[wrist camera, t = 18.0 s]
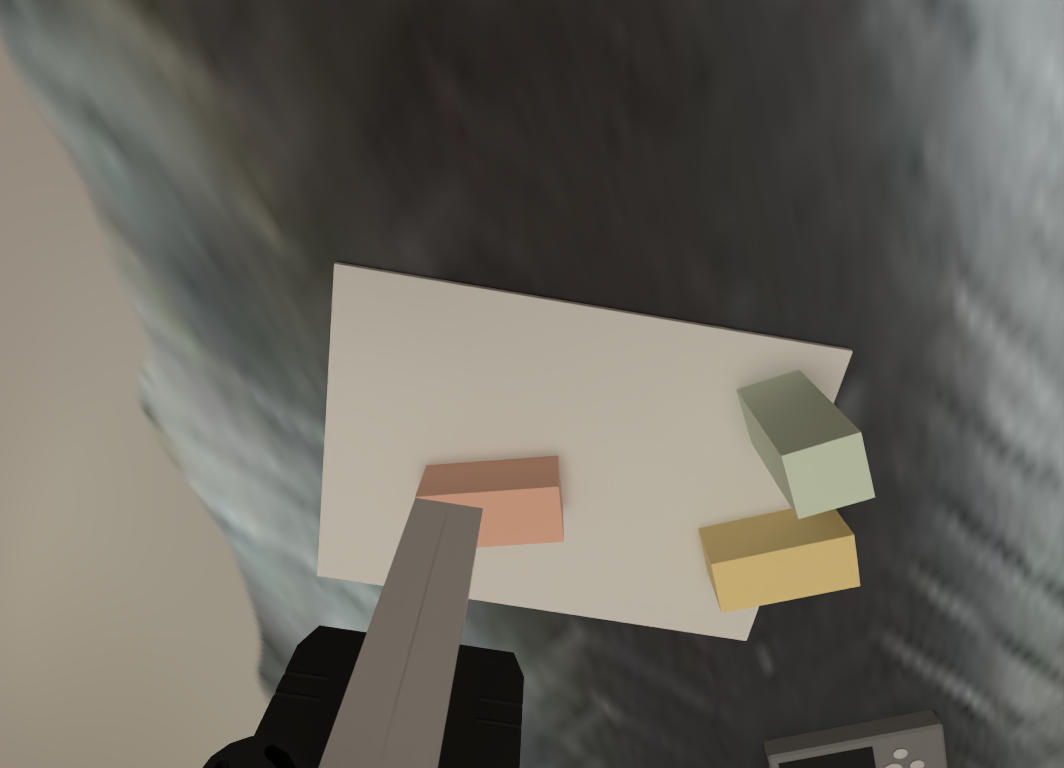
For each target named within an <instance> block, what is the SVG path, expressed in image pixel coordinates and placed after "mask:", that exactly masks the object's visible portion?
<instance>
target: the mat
mask: <svg viewBox="0 0 1064 768" xmlns="http://www.w3.org/2000/svg"><path fill="white" fill-rule="evenodd" d="M852 352H853V351H852V350H850V349H849V348H843V347H837V346H831V345H826V344H820V343H814V342H808V341H802V340H796V339H790V338H784V337H778V336H772V335H766V334H760V333H755V332H749V331H743V330H737V329H731V328H725V327H719V326H713V325H707V324H701V323H695V322H689V321H684V320H678V319H672V318H666V317H660V316H654V315H648V314H642V313H636V312H630V311H624V310H618V309H613V308H607V307H601V306H595V305H589V304H583V303H577V302H571V301H565V300H559V299H553V298H547V297H541V296H536V295H530V294H524V293H518V292H512V291H506V290H500V289H494V288H488V287H482V286H476V285H470V284H465V283H459V282H453V281H447V280H441V279H435V278H429V277H423V276H417V275H411V274H405V273H399V272H394V271H388V270H382V269H376V268H370V267H364V266H358V265H352V264H346V263H340V262H336V263H335V264H334V277H333V295H332V314H331V332H330V351H329V369H328V387H327V406H326V424H325V443H324V461H323V480H322V498H321V516H320V535H319V553H318V572H317V576H322V577H329V578H335V579H342V580H349V581H355V582H362V583H368V584H375V585H381V586H384V584H385V581H386V578H387V575H388V572H389V570H390V567H391V564H392V561H393V559H394V556H395V553H396V550H397V547H398V545H399V542H400V539H401V536H402V533H403V531H404V528H405V525H406V522H407V520H408V517H409V514H410V511H411V508H412V506H413V503H414V500H415V495H416V492H417V490H418V487H419V484H420V481H421V479H422V476H423V473H424V470H425V467H426V465H438V464H452V463H465V462H479V461H492V460H506V459H519V458H533V457H546V456H558V459H559V470H560V481H561V491H562V502H563V524H564V542H552V543H537V544H522V545H507V546H492V547H477V548H476V555H475V561H474V567H473V573H472V579H471V586H470V592H469V598H468V599H474V600H480V601H487V602H493V603H500V604H506V605H513V606H520V607H526V608H533V609H539V610H546V611H553V612H559V613H566V614H572V615H579V616H585V617H592V618H599V619H605V620H612V621H618V622H625V623H632V624H638V625H645V626H651V627H658V628H664V629H671V630H678V631H684V632H691V633H697V634H704V635H710V636H717V637H724V638H730V639H737V640H743V641H747V638H748V635H749V633H750V630H751V627H752V624H753V622H754V619H755V616H756V613H757V611H758V608H759V606H756V607H751V608H746V609H741V610H736V611H731V612H726V613H721V610H720V607H719V604H718V601H717V599H716V596H715V593H714V590H713V587H712V584H711V581H710V578H709V575H708V571H707V567H706V562H705V557H704V553H703V548H702V544H701V539H700V535H699V530H698V528H702V527H707V526H711V525H716V524H721V523H725V522H730V521H735V520H739V519H744V518H749V517H754V516H758V515H763V514H768V513H772V512H777V511H782V510H786V509H791V507H790V505H789V503H788V502H787V500H786V498H785V497H784V495H783V494H782V492H781V490H780V489H779V487H778V485H777V484H776V482H775V481H774V479H773V477H772V476H771V474H770V472H769V471H768V469H767V468H766V466H765V464H764V463H763V461H762V459H761V458H760V456H759V454H758V453H757V451H756V450H755V448H754V446H753V445H752V443H751V440H750V436H749V433H748V429H747V426H746V422H745V419H744V415H743V412H742V408H741V405H740V401H739V398H738V394H737V389H740V388H743V387H746V386H749V385H753V384H756V383H759V382H762V381H765V380H768V379H771V378H774V377H778V376H781V375H784V374H787V373H790V372H793V371H796V370H800V371H801V372H802V373H803V374H804V375H805V376H806V377H807V378H808V379H809V380H810V381H811V382H812V383H813V384H814V385H815V386H816V387H817V388H818V389H819V390H820V391H821V392H822V393H823V394H824V395H825V396H826V397H827V398H828V399H829V400H830V401H831V402H832V403H833V404H834V401H835V398H836V395H837V393H838V390H839V387H840V385H841V382H842V379H843V376H844V374H845V371H846V368H847V365H848V363H849V360H850V357H851V355H852Z"/></svg>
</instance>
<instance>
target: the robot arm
mask: <svg viewBox="0 0 1064 768" xmlns="http://www.w3.org/2000/svg"><path fill="white" fill-rule="evenodd" d="M482 511H483V508H478V507H471V506H465V505H459V504H452V503H446V502H439V501H433V500H427V499H420V498H415V500H414V503H413V506H412V508H411V511H410V514H409V517H408V520H407V522H406V525H405V528H404V531H403V533H402V536H401V539H400V542H399V545H398V547H397V550H396V553H395V556H394V559H393V561H392V564H391V567H390V570H389V572H388V575H387V578H386V581H385V584H384V586H383V589H382V592H381V595H380V598H379V600H378V603H377V606H376V609H375V611H374V614H373V617H372V620H371V623H370V625H369V628H368V631H367V632H360V631H353V630H346V629H340V628H333V627H326V626H320V625H319V626H318V627H317V628H316V629H315V630H314V631H313V632H312V633H311V634H309V635H308V636H307V637H306V638H305V639H304V640H303V641H302V642H300V643H299V644H298V645H297V647H296V650H295V652H294V654H293V656H292V658H291V660H290V662H289V664H288V666H287V668H286V671H285V675H283V676H282V679H281V681H280V683H279V685H278V687H277V689H276V692H275V695H274V696H273V697H272V699H271V701H270V703H269V706H268V708H267V710H266V712H265V714H264V716H263V718H262V720H261V722H260V724H259V726H258V729H257V730H256V733H255V735H254V736H251V737H248V738H245V739H242V740H239V741H236V742H233V743H230V744H229V745H227V746H226V747H225V748H223V749H221V750H220V751H219V752H217V753H216V754H214V755H213V756H211V758H210V759H209V760H208V762H207V763H206V764H205V765H204V767H203V768H519V766H520V745H521V724H522V703H523V685H524V676H523V673H522V671H521V669H520V666H519V664H518V662H517V659H516V657H515V655H514V653H512V652H506V651H499V650H492V649H486V648H479V647H472V646H466V645H461V639H462V633H463V627H464V622H465V616H466V610H467V604H468V598H469V592H470V586H471V579H472V573H473V567H474V561H475V555H476V548H477V542H478V536H479V530H480V524H481V517H482Z"/></svg>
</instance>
